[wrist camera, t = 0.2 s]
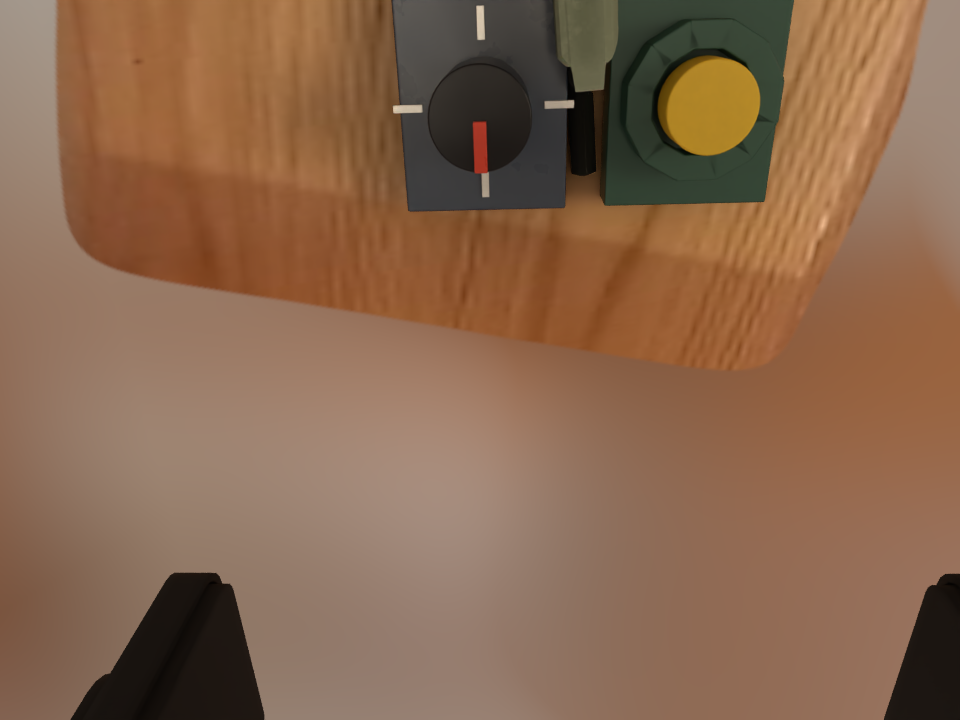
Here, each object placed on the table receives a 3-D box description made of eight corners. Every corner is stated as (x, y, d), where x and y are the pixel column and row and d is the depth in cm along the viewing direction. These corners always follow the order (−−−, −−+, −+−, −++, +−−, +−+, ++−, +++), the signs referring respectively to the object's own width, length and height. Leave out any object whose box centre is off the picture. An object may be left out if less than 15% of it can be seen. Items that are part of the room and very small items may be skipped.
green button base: (608, -16, 33) (620, -19, 30) (780, -23, 33) (813, -26, 30) (599, 195, 38) (609, 215, 34) (751, 191, 38) (776, 211, 34)
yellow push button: (660, 56, 31) (670, 59, 30) (752, 53, 31) (767, 56, 29) (653, 149, 33) (662, 157, 31) (740, 146, 33) (754, 154, 31)
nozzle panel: (392, -8, 34) (383, -9, 32) (572, -15, 34) (577, -16, 31) (408, 200, 38) (401, 212, 36) (567, 196, 38) (571, 209, 36)
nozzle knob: (434, 57, 33) (423, 65, 29) (529, 54, 33) (532, 61, 28) (439, 155, 35) (430, 175, 30) (529, 152, 35) (532, 173, 30)
